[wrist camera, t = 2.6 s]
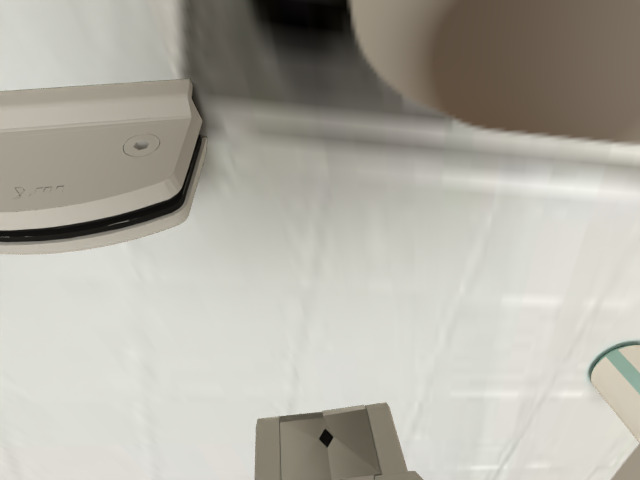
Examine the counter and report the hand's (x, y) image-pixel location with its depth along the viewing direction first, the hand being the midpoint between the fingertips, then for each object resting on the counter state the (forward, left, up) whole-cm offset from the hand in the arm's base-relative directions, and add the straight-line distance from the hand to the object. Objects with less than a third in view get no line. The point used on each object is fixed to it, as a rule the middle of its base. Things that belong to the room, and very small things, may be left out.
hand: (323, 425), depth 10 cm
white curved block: (0, -14, -24) cm, 28 cm away
